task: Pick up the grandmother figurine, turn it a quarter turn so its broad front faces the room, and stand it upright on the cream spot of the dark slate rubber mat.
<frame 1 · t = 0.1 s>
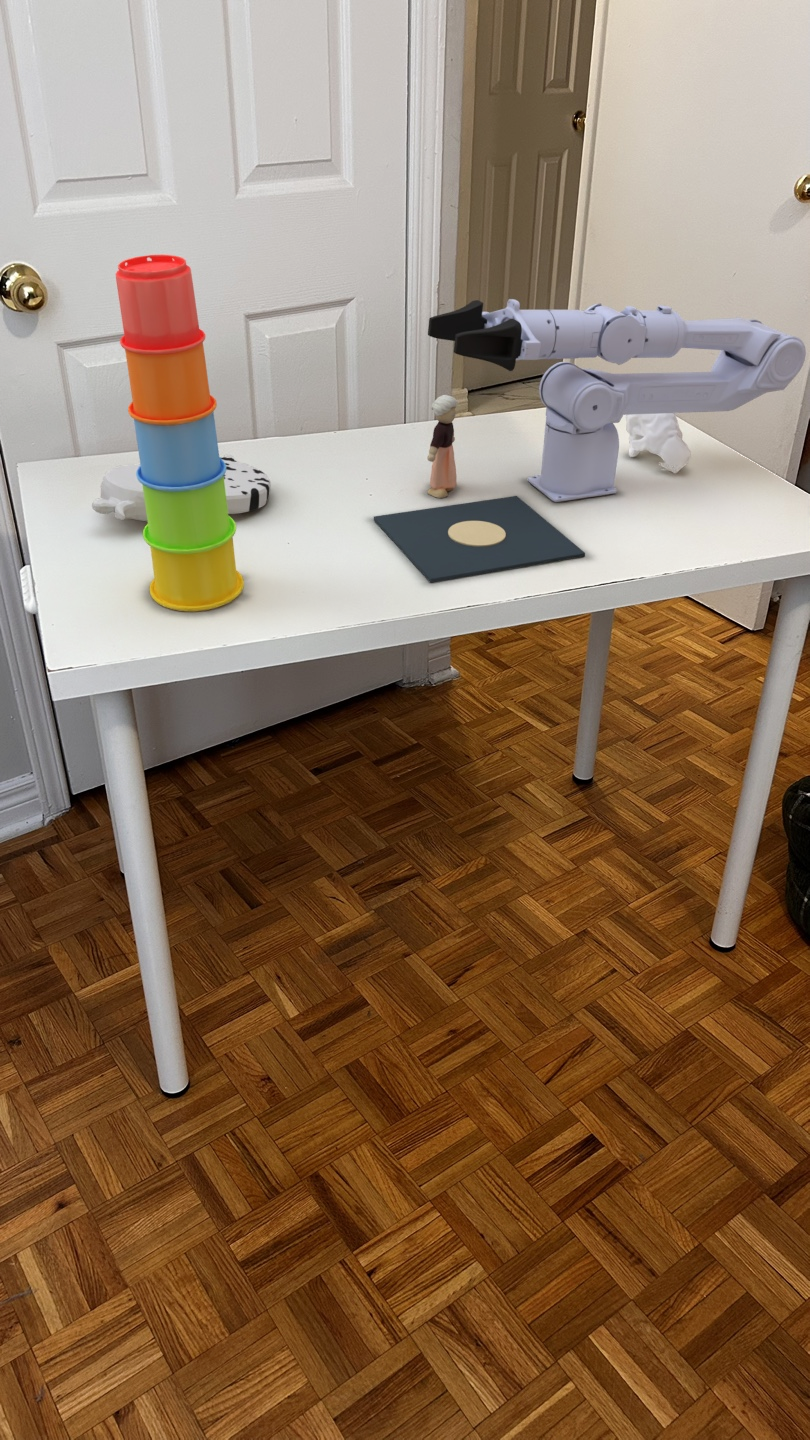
hand: (442, 335, 132), 22 cm above the table, tool horizontal, fingers open, 7 cm apart
white lumpy figurine: (658, 463, 159), on the table
display mat: (476, 537, 137), on the table
grandmother figurine: (441, 491, 149), on the table
stacking cups: (197, 591, 124), on the table
toy: (185, 506, 143), on the table
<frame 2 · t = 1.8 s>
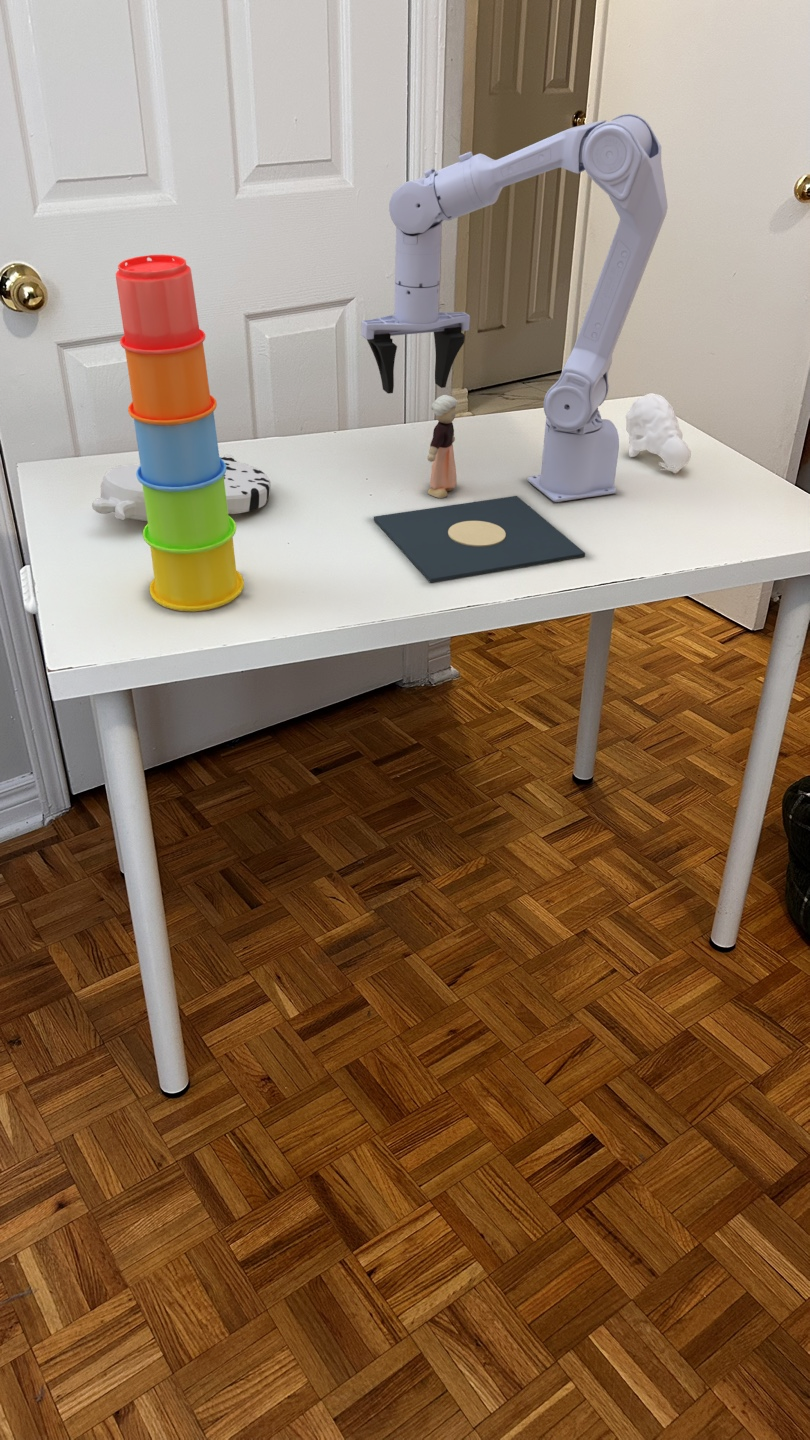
hand: (414, 388, 151), 10 cm above the table, tool pointing down, fingers open, 7 cm apart
nothing on the table moved.
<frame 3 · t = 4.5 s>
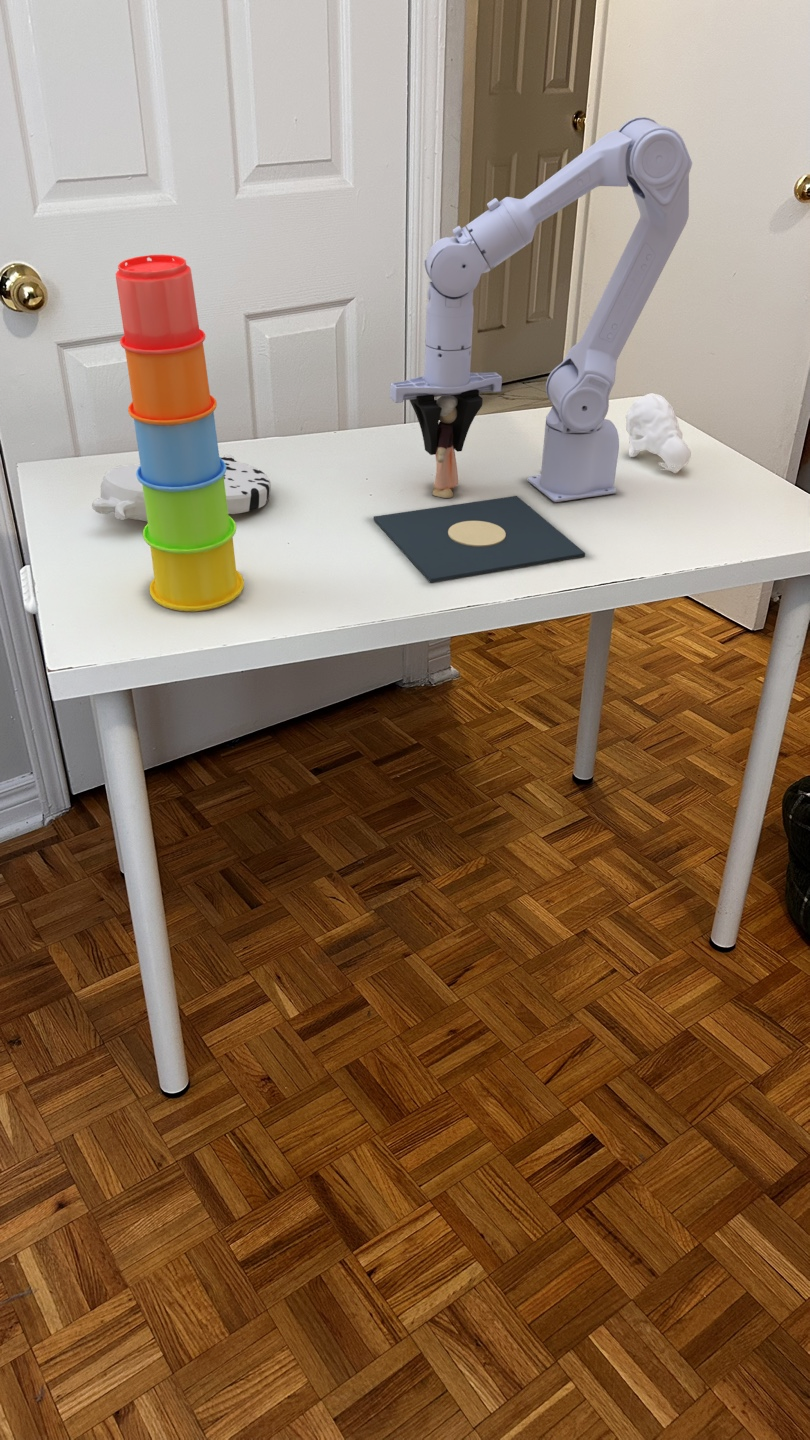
hand: (443, 450, 146), 5 cm above the table, tool pointing down, fingers closed on grandmother figurine, 3 cm apart
grandmother figurine: (443, 491, 149), on the table, touching gripper
everything else where it was.
when the fingers open (6 cm above the table, at t = 9.8 s): grandmother figurine stays where it is, resting on display mat.
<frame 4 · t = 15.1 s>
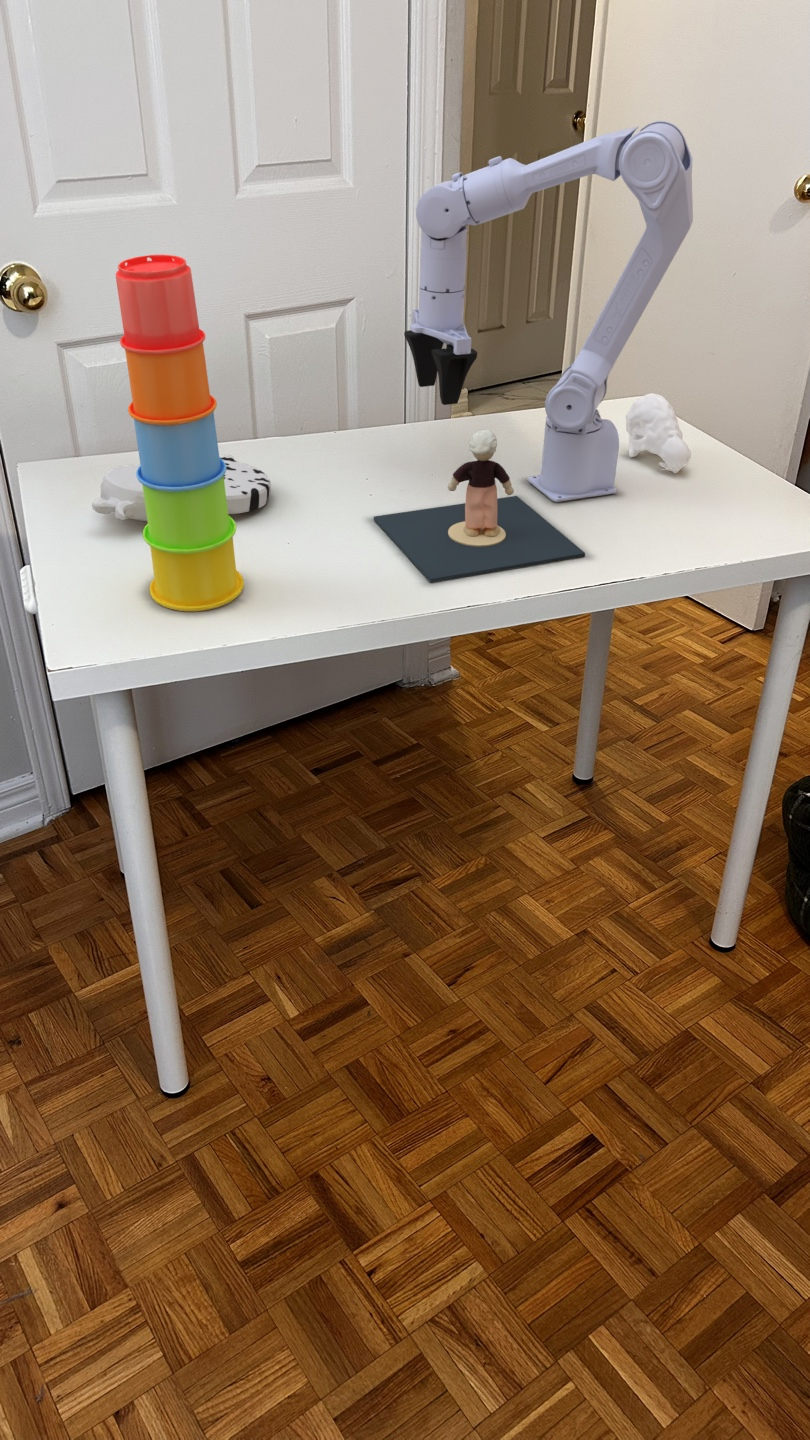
hand: (437, 394, 149), 10 cm above the table, tool pointing down, fingers open, 7 cm apart
grandmother figurine: (477, 533, 137), point 1 cm above the table, touching display mat
everything else where it was.
at the end: grandmother figurine inside the target area on the display mat (0.1 cm from its centre), point 0.5 cm above the display mat's base; grandmother figurine tilted 0°; the gripper is holding nothing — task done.
